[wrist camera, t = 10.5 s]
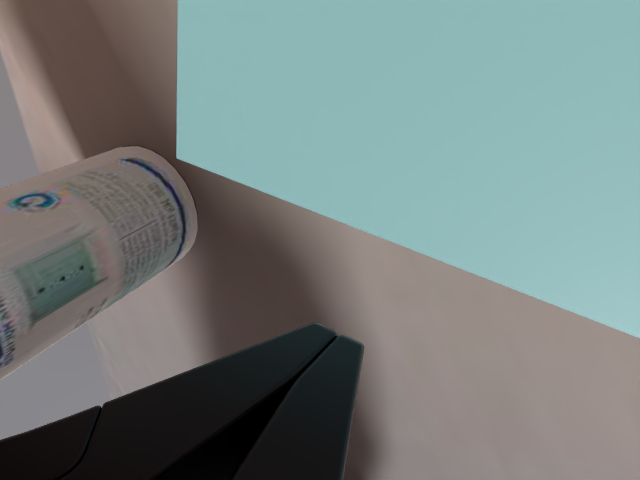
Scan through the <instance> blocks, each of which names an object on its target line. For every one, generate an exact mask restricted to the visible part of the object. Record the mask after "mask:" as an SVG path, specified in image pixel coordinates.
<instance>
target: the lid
mask: <svg viewBox="0 0 640 480" xmlns="http://www.w3.org/2000/svg"><path fill="white" fill-rule="evenodd" d="M176 158H177V159H180V160H182V161H185V162H187V163H190V164H192V165H195V166H198V167H200V168H203V169H205V170H208V171H210V172H213V173H216V174H218V175H221V176H223V177H226V178H228V179H231V180H234V181H236V182H239V183H241V184H244V185H247V186H249V187H252V188H254V189H257V190H259V191H262V192H265V193H267V194H270V195H272V196H275V197H277V198H280V199H283V200H285V201H288V202H290V203H293V204H295V205H298V206H301V207H303V208H306V209H308V210H311V211H313V212H316V213H319V214H321V215H324V216H326V217H329V218H331V219H334V220H337V221H339V222H342V223H344V224H347V225H350V226H352V227H355V228H357V229H360V230H362V231H365V232H368V233H370V234H373V235H375V236H378V237H380V238H383V239H386V240H388V241H391V242H393V243H396V244H398V245H401V246H404V247H406V248H409V249H411V250H414V251H416V252H419V253H422V254H424V255H427V256H429V257H432V258H434V259H437V260H440V261H442V262H445V263H447V264H450V265H453V266H455V267H458V268H460V269H463V270H465V271H468V272H471V273H473V274H476V275H478V276H481V277H483V278H486V279H489V280H491V281H494V282H496V283H499V284H501V285H504V286H507V287H509V288H512V289H514V290H517V291H519V292H522V293H525V294H527V295H530V296H532V297H535V298H538V299H540V300H543V301H545V302H548V303H550V304H553V305H556V306H558V307H561V308H563V309H566V310H568V311H571V312H574V313H576V314H579V315H581V316H584V317H586V318H589V319H592V320H594V321H597V322H599V323H602V324H604V325H607V326H610V327H612V328H615V329H617V330H620V331H622V332H625V333H628V334H630V335H633V336H635V337H638V338H640V0H178V33H177V140H176Z"/></svg>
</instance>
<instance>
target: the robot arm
mask: <svg viewBox="0 0 640 480" xmlns="http://www.w3.org/2000/svg"><path fill="white" fill-rule="evenodd" d="M363 353H364V345H363V344H362V343H360V342H358V341H356V340H354V339H352V338H350V337H347V336H345V335H338V333H337V332H336V331H334V330H332V329H330V328H328V327H326V326H324V325H322V324H319V323H311V324H308V325H306V326H303V327H301V328H298V329H295V330H293V331H290V332H288V333H285V334H282V335H280V336H277V337H275V338H272V339H269V340H267V341H264V342H262V343H259V344H256V345H254V346H251V347H249V348H246V349H243V350H241V351H238V352H236V353H233V354H230V355H228V356H225V357H223V358H220V359H217V360H215V361H212V362H210V363H207V364H204V365H202V366H199V367H197V368H194V369H191V370H189V371H186V372H184V373H181V374H178V375H176V376H173V377H171V378H168V379H165V380H163V381H160V382H158V383H155V384H153V385H150V386H147V387H145V388H142V389H140V390H137V391H134V392H132V393H129V394H127V395H124V396H121V397H119V398H116V399H114V400H111V401H108V402H106V403H104V404H103V407H102V408H101V406H95V407H92V408H90V409H87V410H84V411H82V412H79V413H77V414H74V415H71V416H69V417H66V418H63V419H60V420H58V421H55V422H52V423H49V424H47V425H44V426H41V427H38V428H35V429H33V430H30V431H27V432H24V433H21V434H18V435H15V436H11V437H8V438H5V439H2V440H0V480H343V477H344V470H345V464H346V458H347V452H348V446H349V439H350V433H351V427H352V421H353V415H354V408H355V402H356V396H357V390H358V384H359V377H360V371H361V365H362V359H363Z"/></svg>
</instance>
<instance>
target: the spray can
mask: <svg viewBox="0 0 640 480" xmlns="http://www.w3.org/2000/svg"><path fill="white" fill-rule="evenodd" d="M197 230H198V224H197V212H196V208H195V204H194V201H193V198H192V196H191V194H190V191H189V189H188V187H187V185H186V183H185V182H184V180H183V179H182V178H181V176H180V175H179V173H178V172H177V171H176V169H175V168H174V167H173V166H172V165H171V164H169V163H168V162H167V161H166V160H165V159H164V158H163V157H161V156H160V155H158V154H156V153H155V152H153V151H151V150H149V149H146V148H142V147H139V146H130V147H118V148H116V149H113V150H110V151H107V152H104V153H101V154H98V155H95V156H93V157H90V158H87V159H84V160H81V161H78V162H75V163H72V164H70V165H67V166H64V167H61V168H58V169H55V170H52V171H50V172H47V173H44V174H41V175H38V176H35V177H32V178H29V179H27V180H24V181H21V182H18V183H15V184H12V185H10V186H7V187H4V188H1V189H0V380H1V379H3V378H4V377H6V376H7V375H9V374H10V373H12V372H13V371H15V370H16V369H18V368H19V367H21V366H22V365H24V364H25V363H27V362H28V361H29V360H31V359H32V358H34V357H36V356H37V355H39V354H40V353H42V352H43V351H44V350H46V349H47V348H49V347H51V346H52V345H53V344H55V343H56V342H58V341H59V340H61V339H62V338H64V337H65V336H67V335H68V334H70V333H71V332H73V331H74V330H76V329H77V328H79V327H80V326H82V325H83V324H85V323H86V322H88V321H89V320H91V319H92V318H94V317H95V316H97V315H98V314H100V313H101V312H103V311H104V310H106V309H107V308H109V307H110V306H112V305H113V304H115V303H116V302H118V301H119V300H121V299H122V298H124V297H125V296H127V295H128V294H130V293H131V292H133V291H134V290H136V289H137V288H139V287H140V286H142V285H143V284H145V283H146V282H148V281H149V280H151V279H152V278H154V277H155V276H157V275H158V274H160V273H161V272H163V271H164V270H166V269H167V268H169V267H170V266H171V265H173V264H175V263H176V262H177V261H179V260H180V259H182V258H183V257H184V256H185V255H186V253H187V252H189V251H190V249H191V247H192V246H193V244H194V242H195V239H196V235H197Z"/></svg>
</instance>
